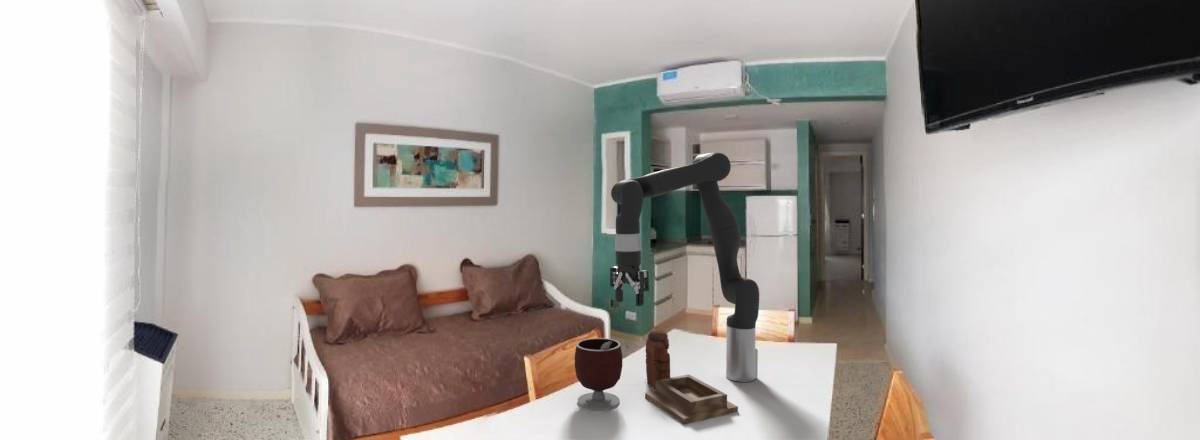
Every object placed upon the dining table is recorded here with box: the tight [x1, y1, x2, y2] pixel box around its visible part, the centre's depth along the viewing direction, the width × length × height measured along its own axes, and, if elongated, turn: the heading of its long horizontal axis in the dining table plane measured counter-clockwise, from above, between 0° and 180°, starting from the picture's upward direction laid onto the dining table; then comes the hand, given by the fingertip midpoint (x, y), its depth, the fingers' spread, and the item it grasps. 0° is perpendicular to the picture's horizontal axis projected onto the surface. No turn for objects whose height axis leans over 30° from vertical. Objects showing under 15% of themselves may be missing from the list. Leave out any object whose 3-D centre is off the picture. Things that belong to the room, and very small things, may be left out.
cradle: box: [644, 373, 739, 425], centre depth 144 cm, size 18×20×5 cm
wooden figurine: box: [645, 328, 671, 390], centre depth 159 cm, size 12×6×18 cm, turn 17°
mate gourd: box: [574, 337, 623, 412], centre depth 145 cm, size 16×14×20 cm
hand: (629, 303), depth 148 cm, fingers open, 8 cm apart
